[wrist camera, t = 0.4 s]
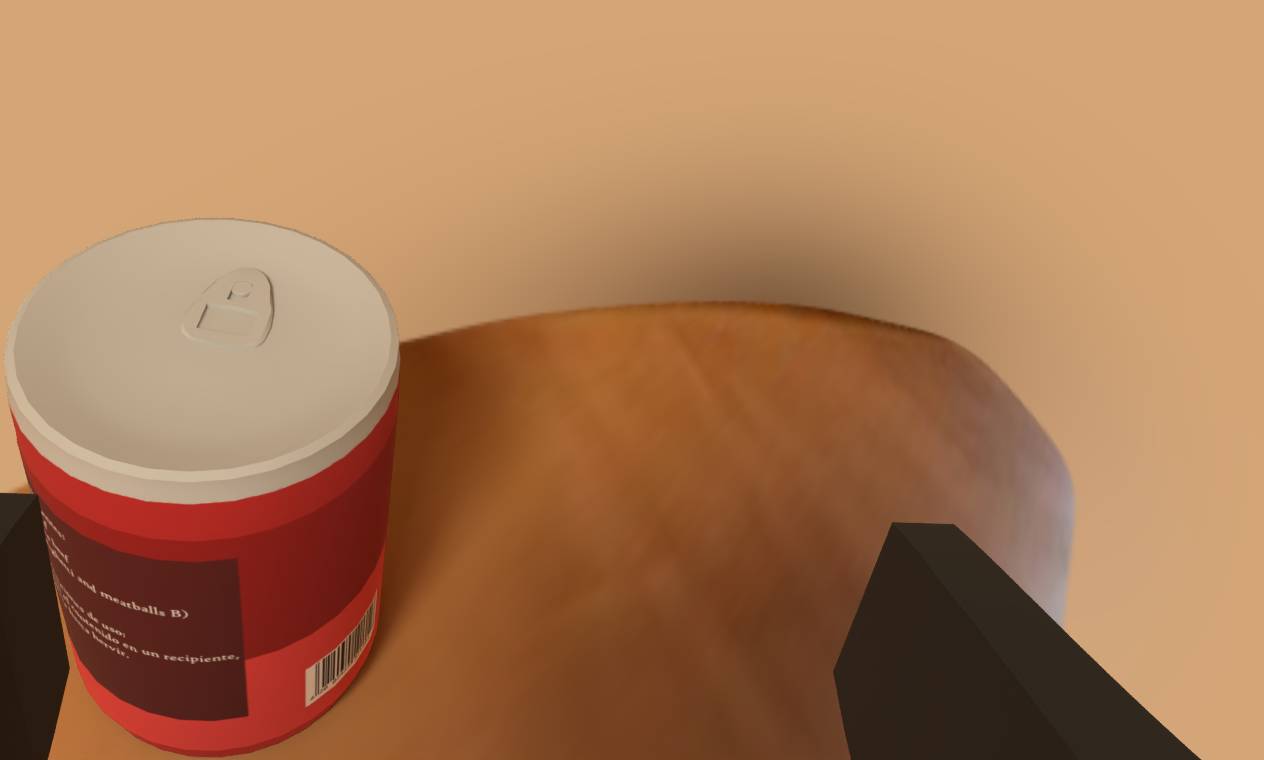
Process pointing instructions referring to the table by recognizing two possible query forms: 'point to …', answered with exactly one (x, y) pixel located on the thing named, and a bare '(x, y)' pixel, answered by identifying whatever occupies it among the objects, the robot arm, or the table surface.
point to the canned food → (211, 472)
